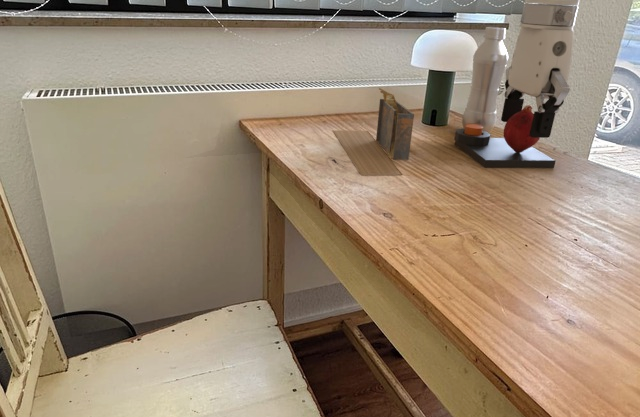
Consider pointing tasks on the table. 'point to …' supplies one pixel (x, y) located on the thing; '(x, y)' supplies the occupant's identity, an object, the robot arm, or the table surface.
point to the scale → (499, 152)
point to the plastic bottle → (486, 80)
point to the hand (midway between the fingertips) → (523, 128)
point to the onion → (520, 130)
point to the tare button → (473, 129)
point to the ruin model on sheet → (381, 139)
